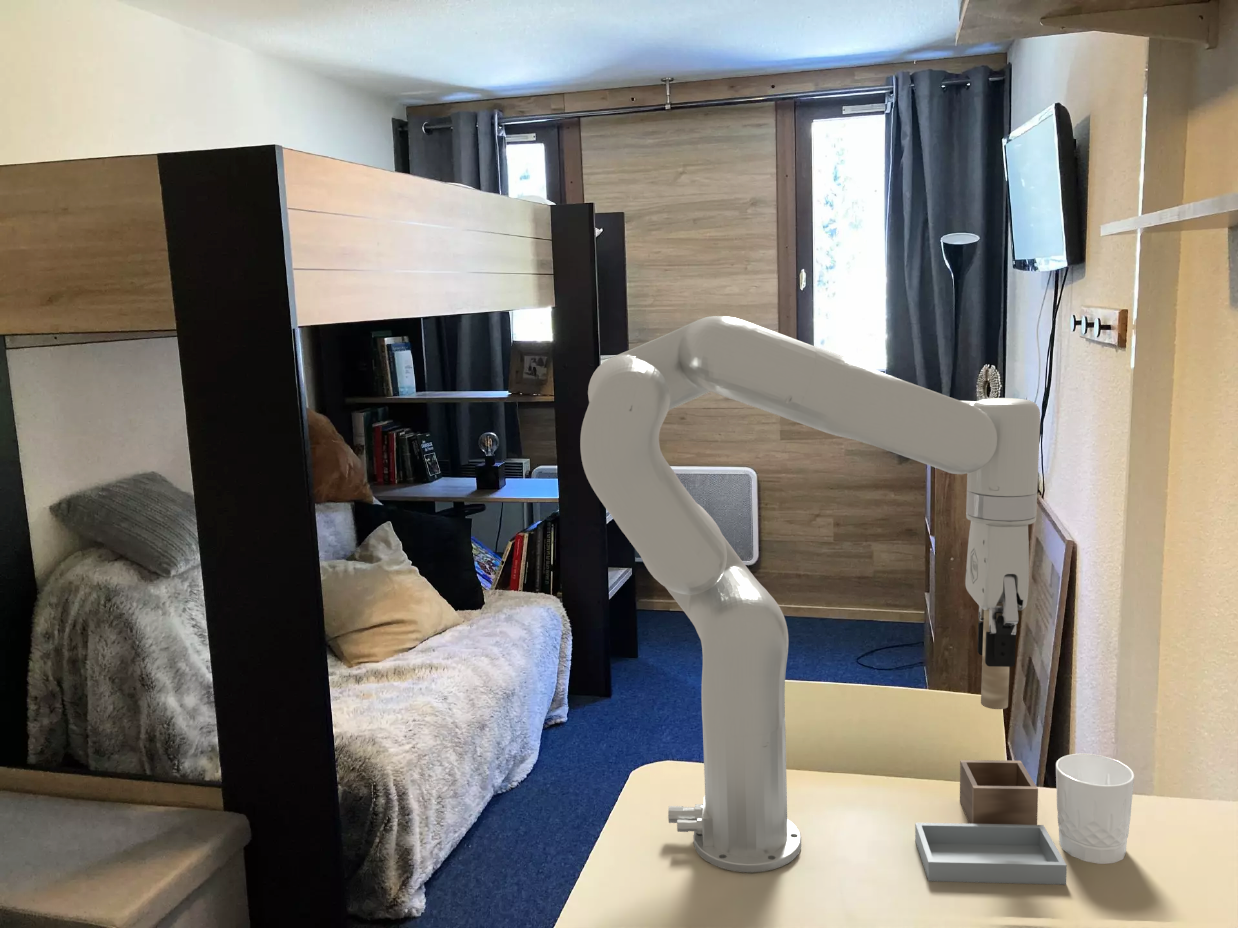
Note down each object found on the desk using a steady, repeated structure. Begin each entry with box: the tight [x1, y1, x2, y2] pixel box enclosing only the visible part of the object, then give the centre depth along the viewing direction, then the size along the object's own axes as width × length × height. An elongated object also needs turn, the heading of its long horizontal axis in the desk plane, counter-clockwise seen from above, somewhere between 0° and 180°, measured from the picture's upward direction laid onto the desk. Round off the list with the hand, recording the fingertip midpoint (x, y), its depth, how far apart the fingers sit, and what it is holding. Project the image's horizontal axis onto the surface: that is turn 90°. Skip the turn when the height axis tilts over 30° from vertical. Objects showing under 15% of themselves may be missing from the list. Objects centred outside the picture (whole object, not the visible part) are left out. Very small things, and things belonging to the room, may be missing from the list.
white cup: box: [1055, 753, 1135, 865], centre depth 111 cm, size 8×8×10 cm
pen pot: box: [959, 759, 1039, 825], centre depth 119 cm, size 7×7×6 cm
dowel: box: [980, 603, 1010, 710], centre depth 116 cm, size 3×3×12 cm
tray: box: [914, 822, 1068, 886], centre depth 110 cm, size 14×8×3 cm, turn 83°
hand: (995, 658), depth 116 cm, fingers closed on dowel, 3 cm apart
